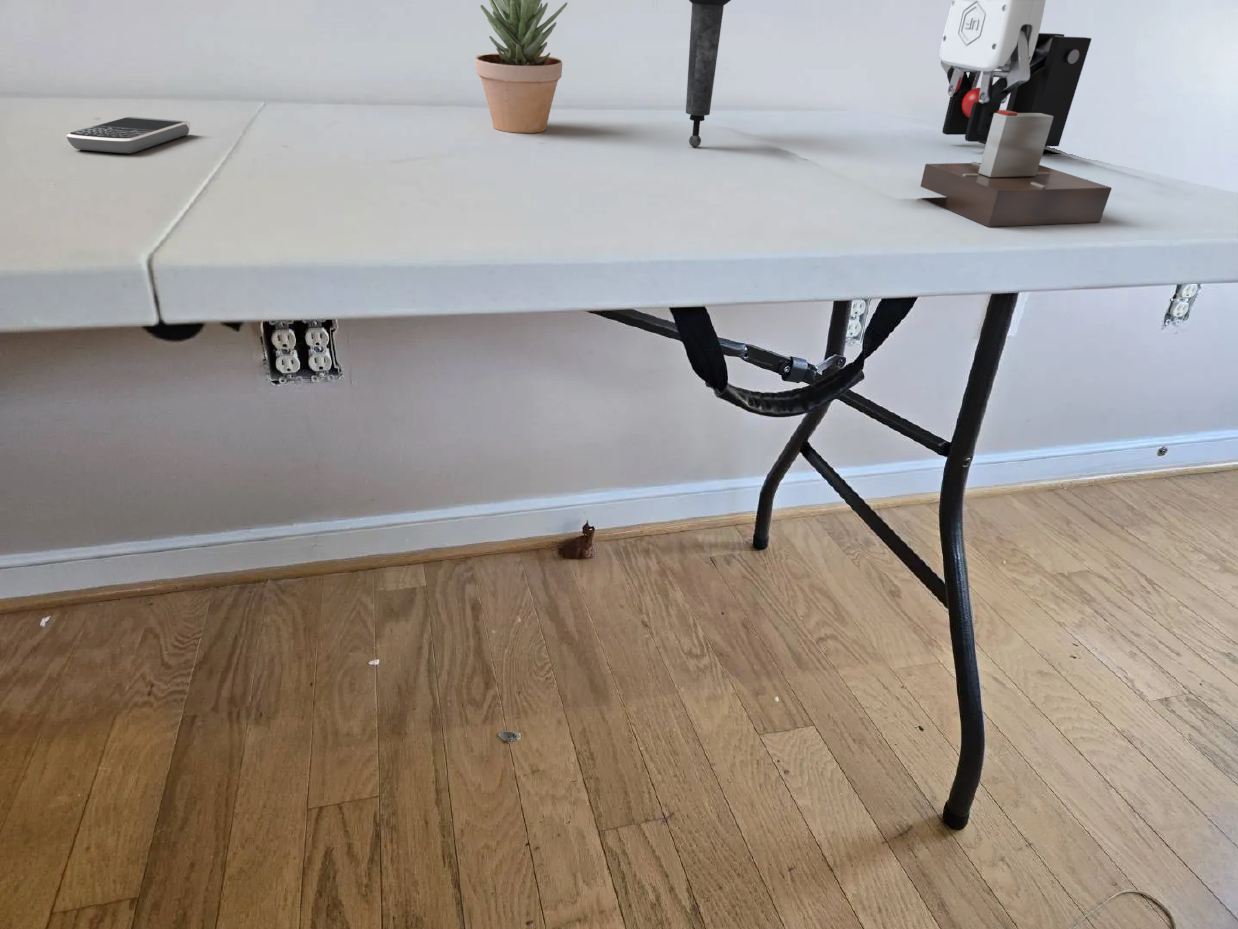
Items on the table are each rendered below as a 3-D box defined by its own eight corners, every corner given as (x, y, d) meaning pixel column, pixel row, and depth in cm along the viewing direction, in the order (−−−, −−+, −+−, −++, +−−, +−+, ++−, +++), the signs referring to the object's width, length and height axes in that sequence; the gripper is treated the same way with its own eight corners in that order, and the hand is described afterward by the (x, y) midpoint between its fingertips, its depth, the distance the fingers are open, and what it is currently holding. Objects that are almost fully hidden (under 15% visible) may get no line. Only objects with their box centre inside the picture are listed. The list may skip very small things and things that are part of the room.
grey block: (1023, 172, 77) (1041, 109, 74) (1036, 176, 75) (1055, 113, 73) (977, 173, 75) (994, 109, 72) (989, 177, 74) (1007, 112, 71)
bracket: (1016, 163, 96) (1052, 37, 89) (976, 150, 101) (1007, 30, 95) (1072, 162, 98) (1112, 39, 92) (1030, 150, 104) (1064, 33, 97)
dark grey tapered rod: (654, 147, 92) (670, -70, 82) (675, 138, 98) (692, -67, 87) (715, 156, 90) (738, -66, 80) (733, 145, 96) (757, -64, 85)
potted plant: (481, 135, 93) (473, -141, 80) (474, 119, 101) (466, -134, 88) (571, 136, 95) (578, -132, 82) (557, 121, 103) (561, -126, 90)
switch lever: (977, 126, 94) (971, 100, 92) (958, 121, 97) (952, 95, 95) (1077, 61, 94) (1073, 33, 92) (1055, 58, 96) (1051, 30, 94)
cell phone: (64, 151, 76) (60, 134, 75) (137, 129, 86) (133, 114, 85) (130, 156, 76) (126, 140, 75) (196, 134, 85) (193, 119, 84)
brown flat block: (1021, 193, 83) (1031, 160, 81) (1100, 222, 75) (1113, 185, 73) (917, 196, 79) (925, 161, 78) (988, 227, 71) (999, 188, 70)
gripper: (932, -56, 92) (896, 124, 102) (1040, -54, 79) (986, 153, 88) (990, -52, 94) (948, 124, 104) (1103, -50, 81) (1044, 152, 90)
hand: (966, 135), depth 96 cm, fingers closed on switch lever, 3 cm apart
